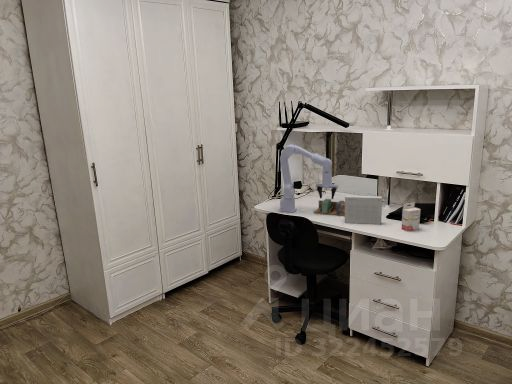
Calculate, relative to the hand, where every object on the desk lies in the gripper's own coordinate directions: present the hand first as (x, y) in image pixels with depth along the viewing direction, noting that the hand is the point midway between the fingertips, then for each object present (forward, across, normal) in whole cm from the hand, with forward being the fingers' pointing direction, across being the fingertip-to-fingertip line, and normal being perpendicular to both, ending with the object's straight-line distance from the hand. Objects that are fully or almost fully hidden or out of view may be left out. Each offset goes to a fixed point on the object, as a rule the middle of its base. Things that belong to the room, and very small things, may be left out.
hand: (326, 198), depth 259 cm
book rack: (+9, +3, 0) cm, 10 cm away
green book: (+8, 0, 0) cm, 8 cm away
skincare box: (+10, +26, -13) cm, 31 cm away
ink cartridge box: (+9, +53, -16) cm, 56 cm away
